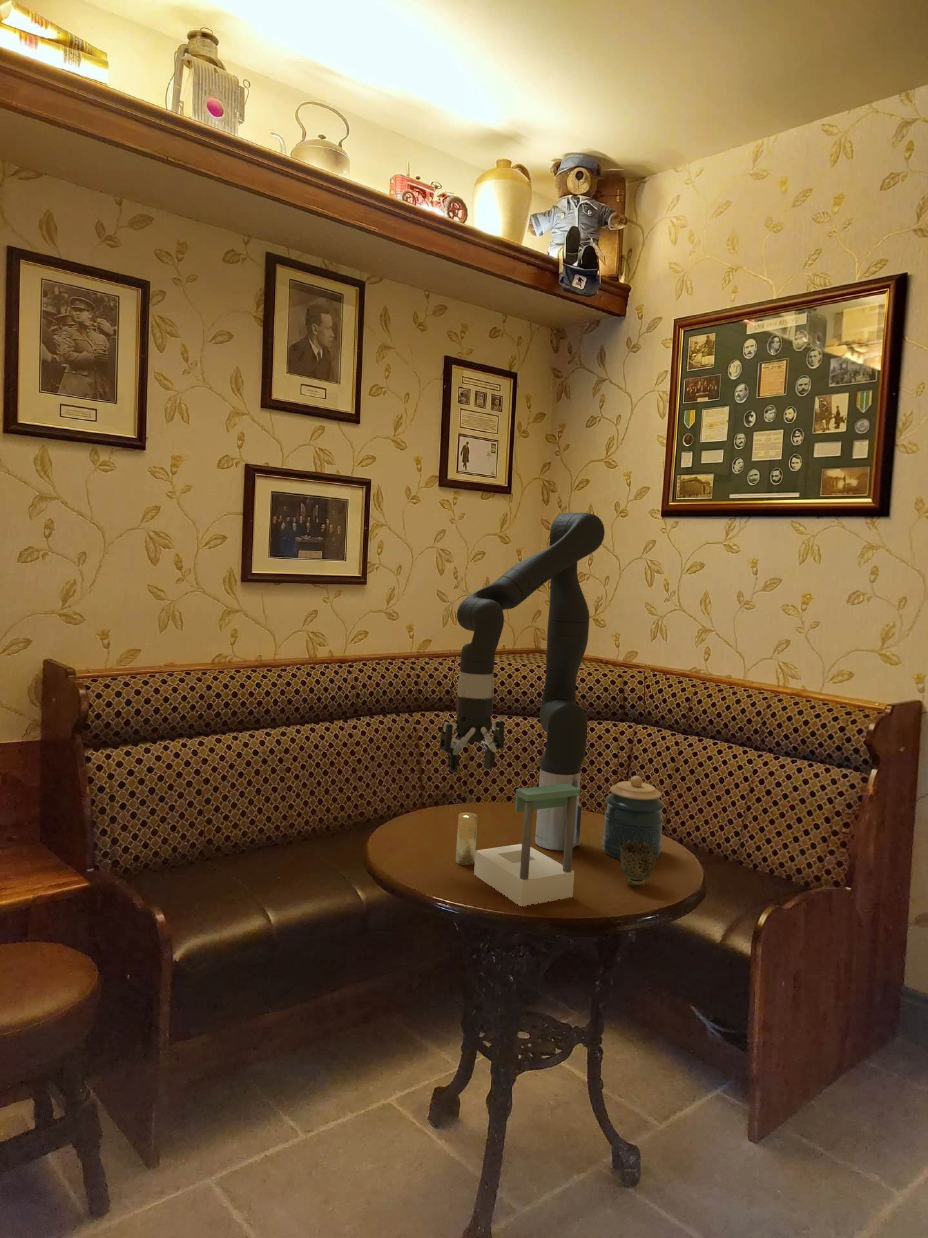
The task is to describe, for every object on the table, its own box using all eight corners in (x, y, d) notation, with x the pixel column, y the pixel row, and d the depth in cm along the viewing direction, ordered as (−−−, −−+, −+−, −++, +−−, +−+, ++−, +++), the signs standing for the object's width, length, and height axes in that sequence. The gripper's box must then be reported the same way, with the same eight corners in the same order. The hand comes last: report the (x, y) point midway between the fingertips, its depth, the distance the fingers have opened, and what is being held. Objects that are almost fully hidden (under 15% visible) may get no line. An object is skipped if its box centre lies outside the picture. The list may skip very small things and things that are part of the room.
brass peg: (468, 857, 180) (471, 811, 180) (478, 863, 177) (481, 817, 176) (452, 859, 178) (455, 813, 178) (461, 866, 175) (464, 819, 174)
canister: (666, 865, 183) (673, 785, 181) (607, 862, 183) (613, 782, 181) (653, 844, 196) (658, 770, 194) (597, 841, 196) (602, 767, 194)
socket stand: (523, 866, 177) (529, 767, 175) (572, 897, 162) (580, 789, 161) (474, 874, 171) (480, 772, 169) (520, 907, 156) (528, 795, 154)
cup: (628, 875, 175) (630, 837, 175) (660, 885, 171) (663, 847, 170) (610, 884, 170) (613, 846, 169) (643, 895, 165) (646, 855, 164)
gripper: (494, 690, 182) (490, 763, 183) (436, 691, 175) (432, 768, 176) (513, 695, 175) (508, 772, 177) (454, 698, 168) (449, 777, 169)
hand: (470, 770), depth 176 cm, fingers open, 8 cm apart
